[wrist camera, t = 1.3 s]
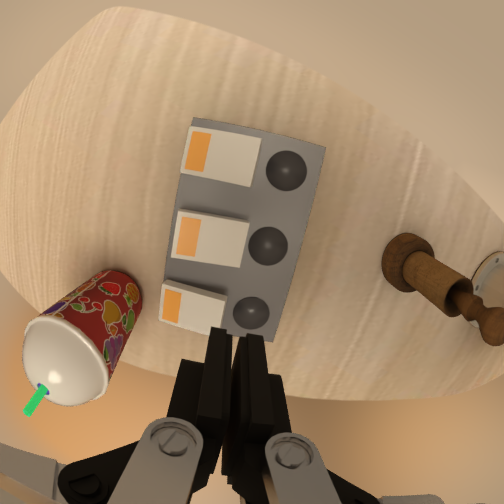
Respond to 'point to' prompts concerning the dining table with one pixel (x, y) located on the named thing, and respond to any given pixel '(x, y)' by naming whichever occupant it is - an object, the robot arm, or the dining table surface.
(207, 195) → the power strip
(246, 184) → the block
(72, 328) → the smoothie
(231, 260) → the block
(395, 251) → the mortar and pestle
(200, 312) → the rocker
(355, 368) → the dining table surface
